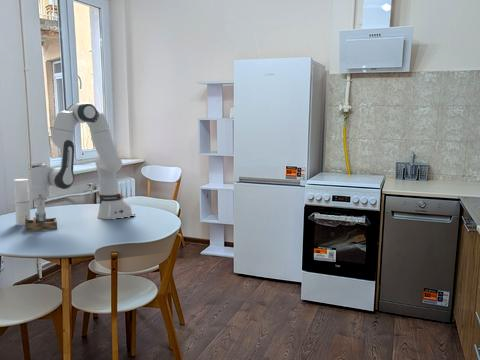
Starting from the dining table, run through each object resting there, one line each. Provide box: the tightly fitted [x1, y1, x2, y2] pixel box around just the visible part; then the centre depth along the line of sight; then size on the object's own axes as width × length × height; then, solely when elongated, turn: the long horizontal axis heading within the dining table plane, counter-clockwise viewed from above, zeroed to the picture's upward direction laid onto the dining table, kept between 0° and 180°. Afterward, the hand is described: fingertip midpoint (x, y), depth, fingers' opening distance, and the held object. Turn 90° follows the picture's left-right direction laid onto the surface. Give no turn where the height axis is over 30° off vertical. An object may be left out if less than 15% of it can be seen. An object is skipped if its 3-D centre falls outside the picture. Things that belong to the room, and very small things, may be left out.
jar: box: [34, 211, 47, 223], centre depth 219 cm, size 5×5×6 cm
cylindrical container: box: [13, 178, 31, 226], centre depth 228 cm, size 7×7×25 cm
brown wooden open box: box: [24, 216, 58, 233], centre depth 220 cm, size 15×10×7 cm, turn 117°
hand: (41, 219), depth 219 cm, fingers closed on jar, 5 cm apart
